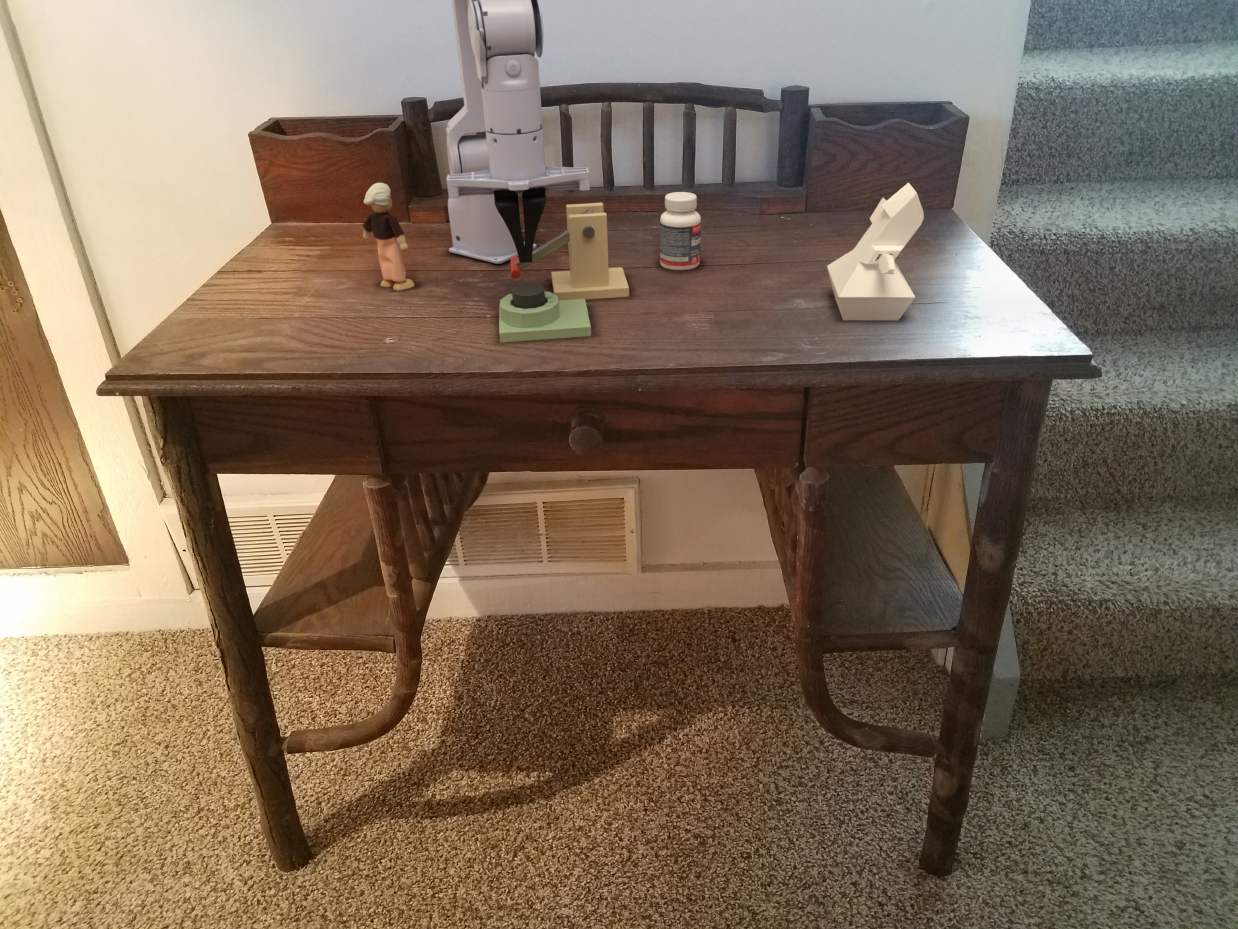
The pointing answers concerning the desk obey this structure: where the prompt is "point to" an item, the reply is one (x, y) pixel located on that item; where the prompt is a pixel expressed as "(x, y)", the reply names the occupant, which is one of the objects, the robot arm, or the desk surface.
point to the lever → (542, 251)
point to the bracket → (588, 258)
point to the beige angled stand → (878, 262)
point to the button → (528, 296)
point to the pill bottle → (680, 232)
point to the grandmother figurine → (386, 237)
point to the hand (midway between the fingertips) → (525, 259)
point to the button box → (543, 320)
